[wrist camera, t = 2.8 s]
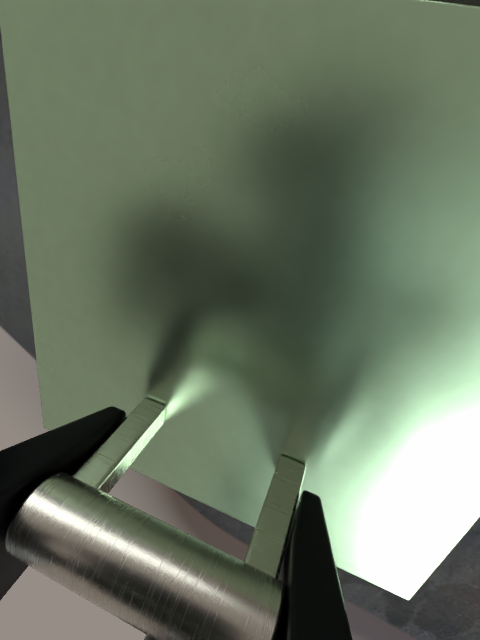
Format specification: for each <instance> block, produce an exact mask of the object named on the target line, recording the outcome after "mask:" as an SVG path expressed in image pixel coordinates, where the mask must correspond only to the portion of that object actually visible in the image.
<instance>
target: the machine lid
mask: <svg viewBox="0 0 480 640" xmlns="http://www.w3.org/2000/svg"><path fill="white" fill-rule="evenodd" d="M0 30H1V39H2V48H3V57H4V66H5V76H6V85H7V94H8V103H9V112H10V122H11V131H12V140H13V149H14V158H15V167H16V177H17V186H18V195H19V204H20V213H21V222H22V232H23V241H24V250H25V259H26V268H27V277H28V287H29V296H30V305H31V314H32V323H33V332H34V342H35V351H36V360H37V368H38V378H39V387H40V396H41V406H42V415H43V424H44V428H46V429H48V430H50V431H51V430H53V429H56V428H58V427H61V426H63V425H65V424H68V423H70V422H73V421H75V420H78V419H80V418H83V417H85V416H88V415H90V414H92V413H95V412H97V411H100V410H102V409H105V408H107V407H110V406H114V407H117V408H119V409H121V410H124V411H125V413H126V418H125V419H124V420H123V421H122V422H121V424H120V425H119V426H118V427H117V428H116V429H115V430H114V431H113V432H112V433H111V434H110V435H109V436H108V437H107V438H106V439H105V440H104V441H103V443H102V444H101V445H100V446H99V447H98V448H97V449H96V450H95V451H94V452H93V453H92V454H91V455H90V456H89V457H88V458H87V459H86V460H85V462H84V463H83V464H82V465H81V466H80V467H79V468H78V469H77V470H76V471H75V472H74V473H73V474H72V475H69V474H67V473H55V474H53V475H51V476H49V477H47V478H46V479H44V480H43V481H42V482H40V483H39V484H38V485H37V486H36V487H35V488H34V489H33V490H32V491H31V492H30V494H29V495H28V496H27V497H26V498H25V500H24V501H23V502H22V504H21V505H20V507H19V508H18V510H17V511H16V513H15V515H14V517H13V519H12V521H11V523H10V525H9V528H8V530H7V533H6V538H5V547H6V550H7V552H8V553H9V555H11V556H13V557H14V558H16V559H18V560H19V561H21V562H23V563H25V564H26V565H28V566H30V567H32V568H33V569H35V570H37V571H38V572H40V573H42V574H44V575H45V576H47V577H49V578H51V579H52V580H54V581H56V582H57V583H59V584H61V585H63V586H64V587H66V588H68V589H69V590H71V591H73V592H75V593H76V594H78V595H80V596H82V597H84V598H85V599H87V600H88V601H90V602H92V603H94V604H95V605H97V606H99V607H101V608H102V609H104V610H106V611H107V612H109V613H111V614H113V615H114V616H116V617H118V618H119V619H121V620H123V621H125V622H126V623H128V624H130V625H132V626H133V627H135V628H137V629H138V630H140V631H142V632H144V633H145V634H147V635H149V636H150V637H152V638H154V639H155V640H276V637H277V633H278V629H279V625H280V621H281V616H282V612H283V607H284V601H285V584H284V583H283V582H282V581H281V580H279V579H278V578H279V574H280V570H281V566H282V562H283V558H284V554H285V550H286V546H287V542H288V538H289V534H290V530H291V526H292V522H293V518H294V514H295V510H296V506H297V503H298V501H299V498H300V496H301V494H302V492H303V491H304V490H307V491H309V492H311V493H313V494H316V495H318V496H319V497H320V499H321V502H322V507H323V511H324V516H325V520H326V524H327V529H328V533H329V538H330V542H331V547H332V551H333V556H334V560H335V565H336V566H337V567H339V568H341V569H343V570H345V571H347V572H349V573H351V574H354V575H356V576H358V577H360V578H362V579H364V580H366V581H368V582H370V583H373V584H375V585H377V586H379V587H381V588H383V589H385V590H387V591H389V592H392V593H394V594H396V595H398V596H400V597H402V598H404V599H406V600H410V599H411V598H412V597H413V596H414V595H415V593H416V592H417V591H418V590H419V589H420V587H421V586H422V585H423V584H424V583H425V582H426V580H427V579H428V578H429V577H430V576H431V574H432V573H433V572H434V571H435V570H436V569H437V567H438V566H439V565H440V564H441V563H442V561H443V560H444V559H445V558H446V557H447V556H448V554H449V553H450V552H451V551H452V550H453V548H454V547H455V546H456V545H457V544H458V543H459V541H460V540H461V539H462V538H463V537H464V535H465V534H466V533H467V532H468V531H469V530H470V528H471V527H472V526H473V525H474V524H475V522H476V521H477V520H478V519H479V518H480V6H475V5H467V4H459V3H451V2H444V1H436V0H0ZM128 468H130V469H133V470H134V471H136V472H139V473H141V474H143V475H145V476H147V477H149V478H151V479H153V480H155V481H158V482H160V483H162V484H164V485H166V486H168V487H170V488H172V489H174V490H176V491H179V492H181V493H183V494H185V495H187V496H189V497H191V498H193V499H195V500H198V501H200V502H202V503H204V504H206V505H208V506H210V507H212V508H214V509H217V510H219V511H221V512H223V513H225V514H227V515H229V516H231V517H233V518H236V519H238V520H240V521H242V522H244V523H246V524H248V525H250V526H252V527H254V528H255V530H254V533H253V536H252V538H251V541H250V544H249V547H248V550H247V553H246V556H245V559H244V562H243V561H241V560H239V559H237V558H235V557H233V556H231V555H229V554H227V553H225V552H223V551H221V550H219V549H217V548H215V547H213V546H211V545H209V544H207V543H205V542H203V541H201V540H199V539H197V538H195V537H193V536H191V535H189V534H187V533H185V532H183V531H181V530H179V529H177V528H175V527H173V526H171V525H169V524H167V523H165V522H163V521H161V520H159V519H157V518H155V517H153V516H151V515H149V514H147V513H145V512H143V511H141V510H139V509H137V508H135V507H133V506H131V505H129V504H127V503H124V502H123V501H121V500H119V499H117V498H115V497H113V496H111V495H109V494H108V493H109V491H110V490H111V489H112V488H113V486H114V484H116V483H117V481H118V480H119V479H120V477H121V476H122V475H123V474H124V472H125V471H126V470H127V469H128Z"/></svg>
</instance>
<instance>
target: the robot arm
mask: <svg viewBox="0 0 480 640" xmlns="http://www.w3.org/2000/svg"><path fill="white" fill-rule="evenodd" d="M125 418H126V413H125V411H124V410H121V409H119V408H117V407H114V406H110V407H107V408H105V409H102V410H100V411H97V412H95V413H92V414H90V415H88V416H85V417H83V418H80V419H78V420H75V421H73V422H70V423H68V424H65V425H63V426H61V427H58V428H56V429H53V430H51V431H48V432H46V433H43V434H41V435H38V436H36V437H34V438H31V439H29V440H26V441H24V442H21V443H19V444H16V445H14V446H11V447H9V448H6V449H4V450H2V451H0V600H1V599H2V598H3V596H4V595H5V594H6V593H7V591H8V590H9V589H10V588H11V586H12V585H13V584H14V583H15V582H16V580H17V579H18V578H19V577H20V576H21V574H22V573H23V572H24V571H25V569H26V568H27V567H28V565H26V564H25V563H23V562H21V561H19V560H18V559H16V558H14V557H13V556H11V555H9V553H8V552H7V550H6V547H5V538H6V533H7V530H8V528H9V525H10V523H11V521H12V519H13V517H14V515H15V513H16V511H17V510H18V508H19V507H20V505H21V504H22V502H23V501H24V500H25V498H26V497H27V496H28V495H29V494H30V492H31V491H32V490H33V489H34V488H35V487H36V486H37V485H38V484H39V483H40V482H42V481H43V480H44V479H46V478H47V477H49V476H51V475H53V474H55V473H67V474H69V475H72V474H73V473H74V472H75V471H76V470H77V469H78V468H79V467H80V466H81V465H82V464H83V463H84V462H85V460H86V459H87V458H88V457H89V456H90V455H91V454H92V453H93V452H94V451H95V450H96V449H97V448H98V447H99V446H100V445H101V444H102V443H103V441H104V440H105V439H106V438H107V437H108V436H109V435H110V434H111V433H112V432H113V431H114V430H115V429H116V428H117V427H118V426H119V425H120V424H121V422H122V421H123V420H124V419H125ZM278 579H279V580H281V581H282V582H283V583H284V584H285V601H284V607H283V612H282V616H281V621H280V625H279V629H278V633H277V637H276V640H352V636H351V632H350V627H349V623H348V618H347V614H346V610H345V605H344V600H343V596H342V591H341V587H340V582H339V578H338V574H337V569H336V565H335V560H334V556H333V551H332V547H331V542H330V538H329V533H328V529H327V524H326V520H325V516H324V511H323V507H322V502H321V499H320V497H319V496H318V495H316V494H313V493H311V492H309V491H307V490H304V491H303V492H302V494H301V496H300V498H299V501H298V503H297V506H296V510H295V514H294V518H293V522H292V526H291V530H290V534H289V538H288V542H287V546H286V550H285V554H284V558H283V562H282V566H281V570H280V574H279V578H278ZM144 640H155V639H154V638H152V637H150V636H149V635H146V637H145V639H144Z"/></svg>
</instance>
